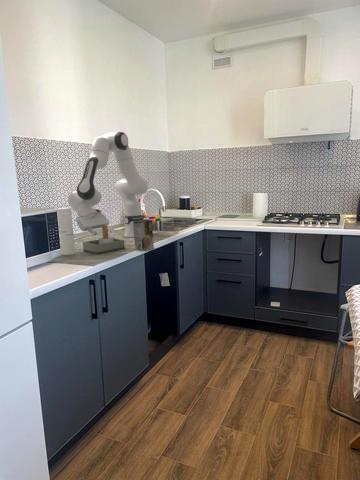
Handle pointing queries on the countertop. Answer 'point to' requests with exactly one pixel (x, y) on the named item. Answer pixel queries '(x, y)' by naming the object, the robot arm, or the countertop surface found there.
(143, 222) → the coffee box
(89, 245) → the grey open box
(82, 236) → the countertop surface
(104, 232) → the brown wooden cylinder
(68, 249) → the cylindrical container
